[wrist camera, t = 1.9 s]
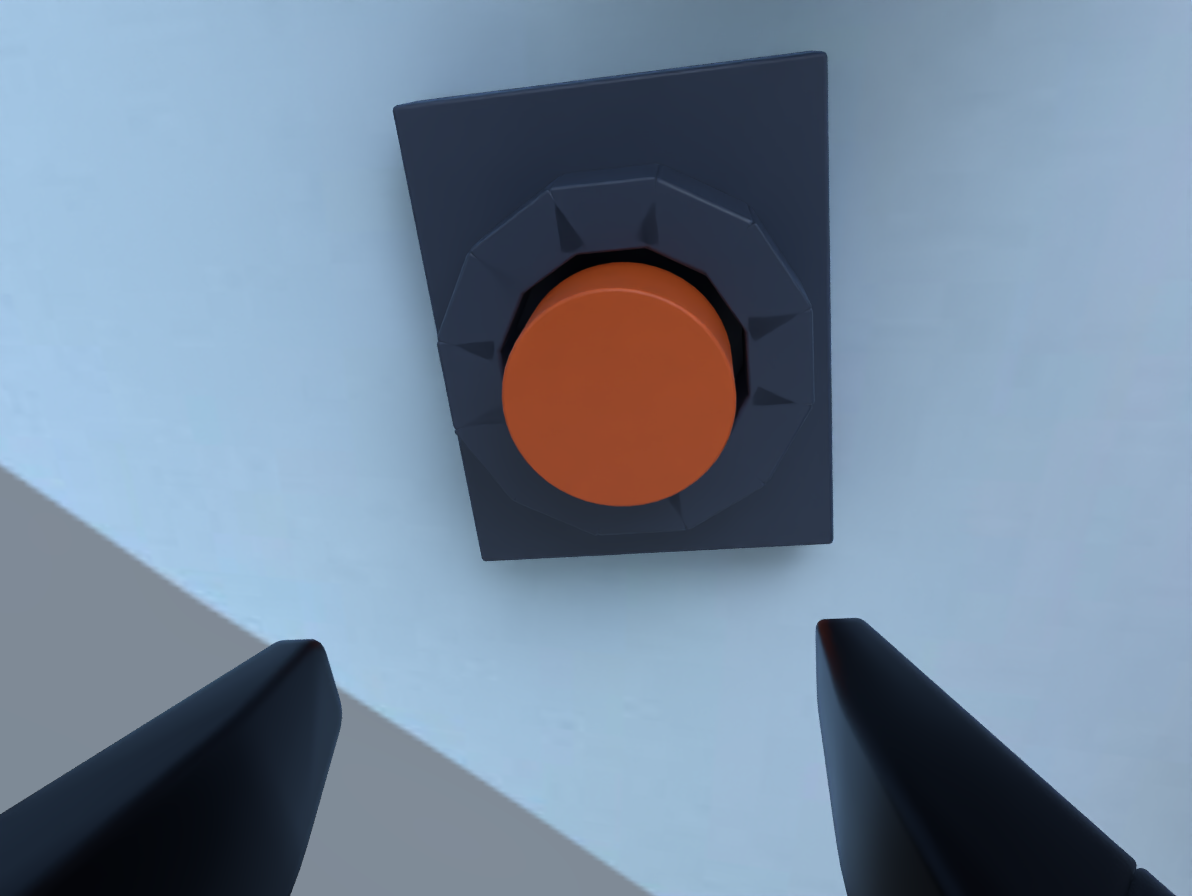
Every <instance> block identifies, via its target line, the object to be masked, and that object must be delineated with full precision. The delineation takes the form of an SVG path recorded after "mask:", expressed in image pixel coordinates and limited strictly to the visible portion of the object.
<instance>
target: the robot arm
mask: <svg viewBox="0 0 1192 896" xmlns="http://www.w3.org/2000/svg"><path fill="white" fill-rule="evenodd" d="M816 678H817V702H818V713H819V720H820V727H821V735H822V742H823V749H824V756H825V764H826V771H827V778H828V785H829V793H830V800H831V807H832V814H833V822H834V829H835V836H836V843H837V849H838V855H839V860H840V866H841V871H842V875H843V879H844V883H845V888H846V892H847V896H1175V895H1174V894H1173V893H1172V892H1171V891H1170V890H1168V889H1167V888H1166V887H1165V886H1164V885H1163V884H1162V883H1161V882H1159V881H1158V880H1157V879H1156V878H1155V877H1154V876H1153V875H1151V874H1150V873H1149V872H1148V871H1147V870H1145V869H1143V868H1138V869H1136V866H1137V865H1136V862H1135V860H1134V859H1133V858H1132V857H1131V856H1129V855H1128V854H1127V853H1126V852H1125V851H1124V850H1123V849H1122V848H1120V847H1119V846H1118V845H1117V844H1116V843H1115V842H1114V841H1112V840H1111V839H1110V838H1109V837H1108V836H1107V835H1106V834H1105V833H1103V832H1102V831H1101V830H1100V829H1099V828H1098V827H1097V826H1096V825H1094V824H1093V823H1092V822H1091V821H1090V820H1089V819H1088V818H1087V817H1085V816H1084V815H1083V814H1082V813H1081V812H1080V811H1079V810H1077V809H1076V808H1075V807H1074V806H1073V805H1072V804H1071V803H1070V802H1068V801H1067V800H1066V799H1065V798H1064V797H1063V796H1062V795H1061V794H1059V793H1058V792H1057V791H1056V790H1055V789H1054V788H1053V787H1052V786H1050V785H1049V784H1048V783H1047V782H1046V781H1045V780H1044V779H1043V778H1041V777H1040V776H1039V775H1038V774H1037V773H1036V772H1035V771H1033V770H1032V769H1031V768H1030V767H1029V766H1028V765H1027V764H1026V763H1024V762H1023V761H1022V760H1021V759H1020V758H1019V757H1018V756H1017V755H1015V754H1014V753H1013V752H1012V751H1011V750H1010V749H1009V748H1008V747H1006V746H1005V745H1004V744H1003V743H1002V742H1001V741H1000V740H998V739H997V738H996V737H995V736H994V735H993V734H992V733H991V732H989V731H988V730H987V729H986V728H985V727H984V726H983V725H982V724H980V723H979V722H978V721H977V720H976V719H975V718H974V717H973V716H971V715H970V714H969V713H968V712H967V711H966V710H965V709H963V708H962V707H961V706H960V705H959V704H958V703H957V702H956V701H954V700H953V699H952V698H951V697H950V696H949V695H948V694H947V693H945V692H944V691H943V690H942V689H941V688H940V687H939V686H938V685H936V684H935V683H934V682H933V681H932V680H931V679H930V678H929V677H927V676H926V675H925V674H924V673H923V672H922V671H921V670H919V669H918V668H917V667H916V666H915V665H914V664H913V663H912V662H910V661H909V660H908V659H907V658H906V657H905V656H904V655H903V654H901V653H900V652H899V651H898V650H897V649H896V648H895V647H894V646H892V645H891V644H890V643H889V642H888V641H887V640H886V639H884V638H883V637H882V636H881V635H880V634H879V633H878V632H877V631H875V630H874V629H873V628H872V627H871V626H870V625H869V624H868V623H866V622H865V621H864V620H862V619H859V618H844V619H823V620H820V621H819V622H818V623H817V625H816ZM341 721H342V708H341V702H340V698H339V694H338V691H337V688H336V684H335V681H334V678H333V674H332V671H331V667H330V664H329V661H328V657H327V654H326V651H325V649H324V647H323V646H322V644H321V643H320V642H318V641H316V640H314V639H303V640H282V641H278V642H276V643H274V644H272V645H271V646H269V647H267V648H266V649H264V650H263V651H261V652H259V653H258V654H256V655H255V656H253V657H251V658H250V659H249V660H247V661H245V662H243V663H242V664H240V665H239V666H237V667H236V668H234V669H233V670H231V671H229V672H227V673H226V674H224V675H223V676H221V677H220V678H218V679H216V680H215V681H213V682H211V683H210V684H208V685H207V686H205V687H203V688H202V689H200V690H199V691H197V692H195V693H194V694H192V695H191V696H189V697H187V698H186V699H184V700H183V701H181V702H180V703H178V704H176V705H175V706H173V707H171V708H170V709H168V710H167V711H165V712H163V713H162V714H160V715H159V716H157V717H155V718H154V719H152V720H151V721H149V722H147V723H146V724H144V725H143V726H141V727H140V728H138V729H136V730H135V731H133V732H131V733H130V734H128V735H127V736H125V737H124V738H122V739H120V740H119V741H117V742H115V743H114V744H112V745H111V746H109V747H107V748H106V749H104V750H103V751H101V752H99V753H98V754H97V755H95V756H93V757H92V758H90V759H88V760H87V761H85V762H83V763H82V764H80V765H79V766H77V767H75V768H74V769H72V770H71V771H69V772H67V773H66V774H64V775H63V776H61V777H59V778H58V779H56V780H55V781H53V782H51V783H50V784H48V785H47V786H45V787H43V788H42V789H40V790H39V791H37V792H35V793H34V794H32V795H31V796H29V797H27V798H26V799H24V800H23V801H21V802H19V803H18V804H16V805H14V806H13V807H12V808H10V809H8V810H6V811H5V812H3V813H2V814H0V896H290V894H291V892H292V889H293V886H294V884H295V881H296V878H297V876H298V873H299V870H300V867H301V864H302V861H303V858H304V855H305V851H306V848H307V845H308V841H309V838H310V834H311V831H312V827H313V824H314V820H315V817H316V813H317V810H318V806H319V803H320V799H321V795H322V792H323V788H324V785H325V781H326V778H327V774H328V771H329V767H330V763H331V760H332V756H333V753H334V749H335V746H336V742H337V739H338V735H339V732H340V727H341Z"/></svg>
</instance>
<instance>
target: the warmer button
mask: <svg viewBox="0 0 1192 896" xmlns="http://www.w3.org/2000/svg"><path fill="white" fill-rule="evenodd" d="M502 405H503V412H504V416H505V421H506V425H507V427H508V430H509V432H510V435H511V438H512V439H513V441H514V443H515V445H516V447H517V449H518V450H519V452H520V453H521V455H522V456H523V457H524V459H525V460H526V461H527V463H528V464H529V465H530V466H531V467H532V468H533V469H534V470H535V471H536V472H537V473H538V474H539V475H540V476H541V477H542V478H544V479H545V480H546V481H547V482H548V483H550V484H551V485H553V486H555V487H556V488H558V489H559V490H561V491H563V492H565V493H567V494H569V495H571V496H573V497H576V498H578V499H581V500H584V501H587V502H591V503H595V504H600V505H607V506H637V505H644V504H649V503H653V502H657V501H660V500H663V499H665V498H668V497H671V496H673V495H675V494H677V493H678V492H680V491H682V490H684V489H686V488H687V487H689V486H690V485H691V484H693V483H694V482H696V481H697V480H698V479H699V478H700V477H701V476H703V475H704V474H705V473H706V472H707V471H708V470H709V469H710V467H711V466H712V465H713V464H714V463H715V461H716V460H717V459H718V457H719V455H720V454H721V452H722V451H723V449H724V447H725V445H726V443H727V441H728V439H729V436H730V433H731V430H732V427H733V424H734V418H735V412H736V387H735V379H734V371H733V363H732V355H731V347H730V343H729V339H728V336H727V332H726V330H725V327H724V325H723V323H722V320H721V319H720V317H719V315H718V314H717V312H716V310H715V309H714V307H713V306H712V305H711V304H710V302H709V301H708V300H707V299H706V297H705V296H704V295H703V294H702V293H701V292H699V291H698V290H697V289H696V288H695V287H694V286H693V285H691V284H690V283H688V282H687V281H686V280H684V279H683V278H681V277H679V276H677V275H675V274H673V273H672V272H670V271H667V270H664V269H662V268H659V267H656V266H652V265H648V264H643V263H635V262H612V263H606V264H600V265H596V266H593V267H589V268H586V269H584V270H581V271H579V272H577V273H575V274H573V275H571V276H569V277H568V278H566V279H565V280H563V281H562V282H560V283H559V284H558V285H556V286H555V287H554V288H553V289H552V290H551V291H549V293H548V294H547V295H546V296H545V297H544V298H543V299H542V300H541V302H540V303H539V304H538V306H537V307H536V309H535V310H534V312H533V313H532V315H531V317H530V318H529V320H528V322H527V324H526V325H525V327H524V329H523V330H522V332H521V334H520V335H519V337H518V339H517V340H516V342H515V344H514V346H513V348H512V350H511V352H510V354H509V357H508V360H507V363H506V366H505V370H504V375H503V381H502Z"/></svg>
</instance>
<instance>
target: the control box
mask: <svg viewBox="0 0 1192 896" xmlns="http://www.w3.org/2000/svg"><path fill="white" fill-rule="evenodd" d="M393 115H394V120H395V125H396V130H397V135H398V140H399V145H400V150H401V155H402V160H403V165H404V170H405V175H406V180H407V185H408V190H409V195H410V200H411V205H412V210H413V215H414V220H415V225H416V230H417V235H418V240H419V245H420V250H421V255H422V260H423V265H424V270H425V275H426V280H427V285H428V290H429V295H430V300H431V305H432V310H433V315H434V320H435V325H436V330H437V335H438V336H437V337H438V342H437V347H438V352H439V357H440V362H441V367H442V372H443V377H444V382H445V387H446V392H447V397H448V402H449V407H450V412H451V417H452V422H453V426H454V428H455V429H456V430H455V433H456V434H457V436H458V441H459V446H460V451H461V456H462V461H463V466H464V471H465V476H466V481H467V486H468V491H469V496H470V501H471V506H472V511H473V516H474V521H475V526H476V531H477V536H478V541H479V546H480V551H481V556H482V559H483V561H499V560H519V559H539V558H558V557H578V556H598V555H617V554H637V553H657V552H676V551H696V550H716V549H735V548H755V547H775V546H794V545H814V544H830V543H832V541H833V478H832V395H831V313H830V230H829V147H828V65H827V54H826V52H822V51H805V52H797V53H789V54H782V55H774V56H766V57H758V58H750V59H742V60H735V61H727V62H719V63H711V64H703V65H695V66H687V67H680V68H672V69H664V70H656V71H648V72H640V73H633V74H625V75H617V76H609V77H601V78H593V79H585V80H578V81H570V82H562V83H554V84H546V85H538V86H531V87H523V88H515V89H507V90H499V91H491V92H483V93H476V94H468V95H460V96H452V97H444V98H436V99H429V100H421V101H415V102H410V103H406V104H401V105H396V106H395V107H394V108H393ZM612 262H635V263H643V264H648V265H652V266H656V267H659V268H662V269H664V270H667V271H670V272H672V273H673V274H675V275H677V276H679V277H681V278H683V279H684V280H686V281H687V282H688V283H690V284H691V285H693V286H694V287H695V288H696V289H697V290H698V291H699V292H701V293H702V294H703V295H704V296H705V297H706V299H707V300H708V301H709V302H710V304H711V305H712V306H713V307H714V309H715V310H716V312H717V314H718V315H719V317H720V319H721V320H722V323H723V325H724V327H725V330H726V332H727V336H728V339H729V343H730V347H731V355H732V363H733V371H734V379H735V387H736V412H735V418H734V424H733V427H732V430H731V433H730V436H729V439H728V441H727V443H726V445H725V447H724V449H723V451H722V452H721V454H720V455H719V457H718V459H717V460H716V461H715V463H714V464H713V465H712V466H711V467H710V469H709V470H708V471H707V472H706V473H705V474H704V475H703V476H701V477H700V478H699V479H698V480H697V481H696V482H694V483H693V484H691V485H690V486H689V487H687V488H686V489H684V490H682V491H680V492H678V493H677V494H675V495H673V496H671V497H668V498H665V499H663V500H660V501H657V502H653V503H649V504H644V505H637V506H607V505H600V504H595V503H591V502H587V501H584V500H581V499H578V498H576V497H573V496H571V495H569V494H567V493H565V492H563V491H561V490H559V489H558V488H556V487H555V486H553V485H551V484H550V483H548V482H547V481H546V480H545V479H544V478H542V477H541V476H540V475H539V474H538V473H537V472H536V471H535V470H534V469H533V468H532V467H531V466H530V465H529V464H528V463H527V461H526V460H525V459H524V457H523V456H522V455H521V453H520V452H519V450H518V449H517V447H516V445H515V443H514V441H513V439H512V438H511V435H510V432H509V430H508V427H507V425H506V421H505V416H504V412H503V405H502V381H503V375H504V370H505V366H506V363H507V360H508V357H509V354H510V352H511V350H512V348H513V346H514V344H515V342H516V340H517V339H518V337H519V335H520V334H521V332H522V330H523V329H524V327H525V325H526V324H527V322H528V320H529V318H530V317H531V315H532V313H533V312H534V310H535V309H536V307H537V306H538V304H539V303H540V302H541V300H542V299H543V298H544V297H545V296H546V295H547V294H548V293H549V291H551V290H552V289H553V288H554V287H555V286H556V285H558V284H559V283H560V282H562V281H563V280H565V279H566V278H568V277H569V276H571V275H573V274H575V273H577V272H579V271H581V270H584V269H586V268H589V267H593V266H596V265H600V264H606V263H612Z"/></svg>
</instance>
